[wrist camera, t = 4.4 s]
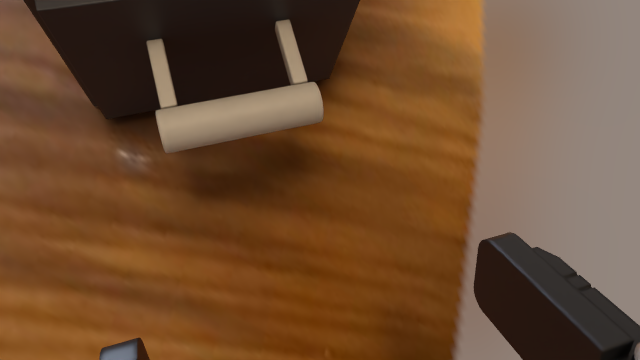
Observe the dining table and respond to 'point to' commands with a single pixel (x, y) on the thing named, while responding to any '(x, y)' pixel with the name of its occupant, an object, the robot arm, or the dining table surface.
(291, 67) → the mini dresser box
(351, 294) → the dining table surface
